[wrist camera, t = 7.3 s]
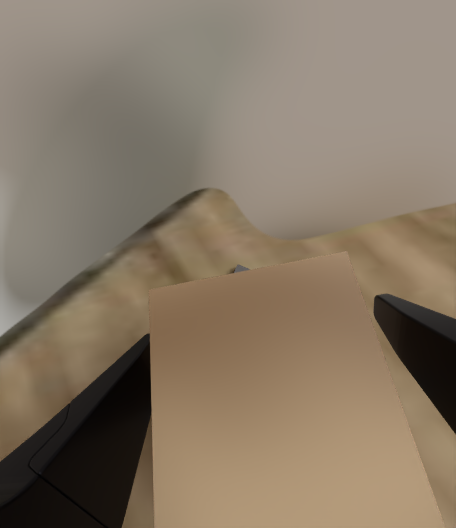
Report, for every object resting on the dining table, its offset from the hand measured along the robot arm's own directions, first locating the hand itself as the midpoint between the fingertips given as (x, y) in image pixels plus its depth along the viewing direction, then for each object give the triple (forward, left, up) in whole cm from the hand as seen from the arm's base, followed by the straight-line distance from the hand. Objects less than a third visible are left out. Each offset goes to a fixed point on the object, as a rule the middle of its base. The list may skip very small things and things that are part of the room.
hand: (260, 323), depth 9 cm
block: (-1, +1, -8) cm, 9 cm away
